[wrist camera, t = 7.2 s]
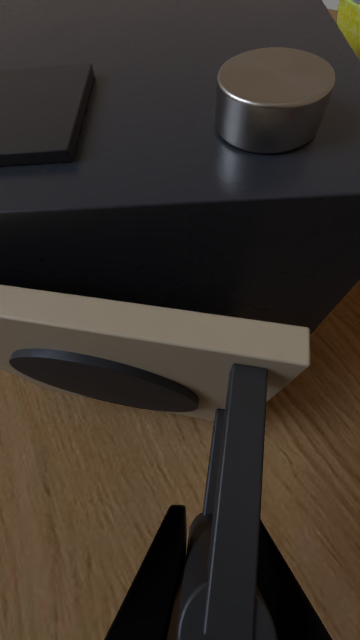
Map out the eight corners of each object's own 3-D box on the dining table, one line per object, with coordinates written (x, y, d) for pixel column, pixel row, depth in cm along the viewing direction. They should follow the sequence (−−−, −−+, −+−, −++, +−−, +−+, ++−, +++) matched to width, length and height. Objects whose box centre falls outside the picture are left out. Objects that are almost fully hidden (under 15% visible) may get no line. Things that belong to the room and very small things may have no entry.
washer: (275, 374, 17) (491, 134, 4) (35, 380, 18) (-357, 187, 5) (247, 209, 23) (306, -82, 11) (71, 218, 24) (-66, -44, 11)
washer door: (228, 542, 12) (319, 791, 3) (7, 487, 13) (-385, 543, 4) (240, 409, 14) (310, 326, 5) (51, 375, 16) (-143, 263, 7)
